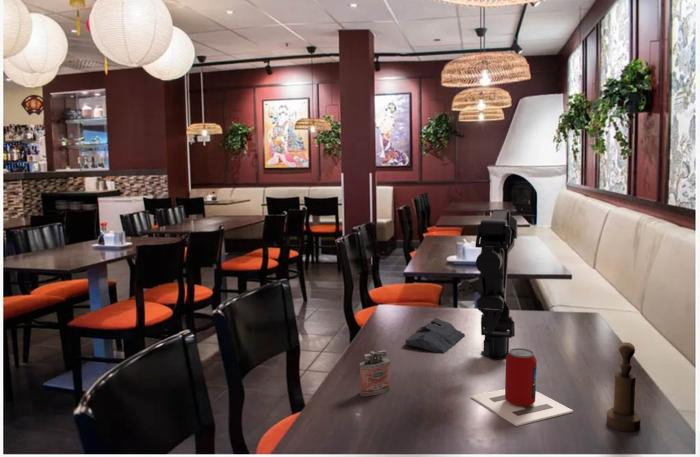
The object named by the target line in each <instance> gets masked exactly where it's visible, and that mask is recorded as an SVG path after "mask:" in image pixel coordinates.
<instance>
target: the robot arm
mask: <svg viewBox="0 0 700 457" xmlns="http://www.w3.org/2000/svg"><path fill="white" fill-rule="evenodd" d="M515 239H518V221H517V219H515V218H514V217H513V216H512V215H511V211H510V210H508V209H500V208H499V209H497V208H496V209H492V210H491V213H490V217H489V218H486V219H482V220H480V223H478V224H477V229H476V238H475V248H478V249H479V248H480V249H481V251H480V253H479V254H478V256H477V257H476V260H475V267H476V268H477V269H476V270H478V271H479V274H478V277H475V278H470V279H466V280H462V281H461V282H458V284H457V289H458V293H459V295H460V296H461V298H465V297H467V296H468V295H472V294H476V293H477V294H478V295H479V296H477V299H476V308H477V310H478V311H479V312H480V313H482V314H481V317H480V333H481V336H484V339H483V350H482V351H480V353H481V355H484V356H485V357H488V358H490V359H492V360H493V361H494V360H495V361H497V360H501V359H506V357H507V355H508V353H509V351H510V339H512V338H513V337H515V335H516V334H515V333H516V331H515V330H516V328H515V327H516V326H515V321H514V318H513V316H511V311H510V308H509V306H508V304H507V303H506V299H507V298H506V297H507V285H508V284H507V282H508V281H507V280H508V264H509V253H510V252H511V251H512V249H513V248H514V247H515V242H516V241H515Z"/></svg>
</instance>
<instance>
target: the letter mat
mask: <svg viewBox="0 0 700 457" xmlns="http://www.w3.org/2000/svg"><path fill="white" fill-rule="evenodd" d="M470 398H471V399H472V400H474V401H475V402H477V403H479V404H480V405H482V406H483V407H485V408H486V409H488V410H489V411H491V412H493V413H494V414H496V415H497V416H499V417H501V418H502V419H504V420H505V421H507V422H509V423H510V424H511V425H514V426H515V427H518V426H523V425H526V424H530V423H534V422H539V421H544V420H547V419H552V418H555V417H560V416H564V415H568V414H571V413H574V410H573V409H571V408H569V407H567V406H566V405H563V404H562V403H559V402H558V401H556V400H554V399H552V398H550V397H548V396H547V395H544V394H543V393H541V392H538V391H537V390H536V395H535V402H534V403H533V404H531V405H529V406H526V407H520V406H515V405H512V404H511V403H510V402H508V401H507V400H506V399H505V388H504V389H499V390H493V391H489V392H484V393H480V394H475V395H471V396H470Z"/></svg>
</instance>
